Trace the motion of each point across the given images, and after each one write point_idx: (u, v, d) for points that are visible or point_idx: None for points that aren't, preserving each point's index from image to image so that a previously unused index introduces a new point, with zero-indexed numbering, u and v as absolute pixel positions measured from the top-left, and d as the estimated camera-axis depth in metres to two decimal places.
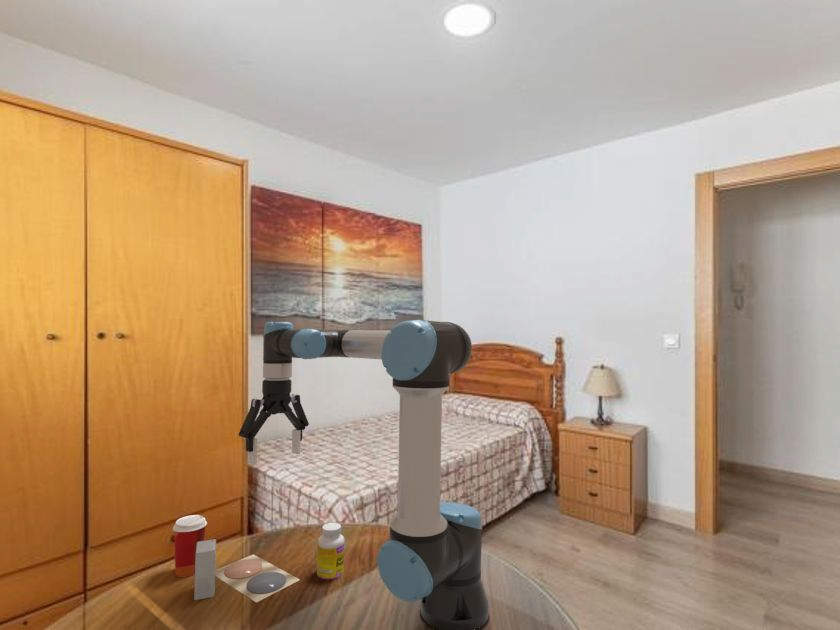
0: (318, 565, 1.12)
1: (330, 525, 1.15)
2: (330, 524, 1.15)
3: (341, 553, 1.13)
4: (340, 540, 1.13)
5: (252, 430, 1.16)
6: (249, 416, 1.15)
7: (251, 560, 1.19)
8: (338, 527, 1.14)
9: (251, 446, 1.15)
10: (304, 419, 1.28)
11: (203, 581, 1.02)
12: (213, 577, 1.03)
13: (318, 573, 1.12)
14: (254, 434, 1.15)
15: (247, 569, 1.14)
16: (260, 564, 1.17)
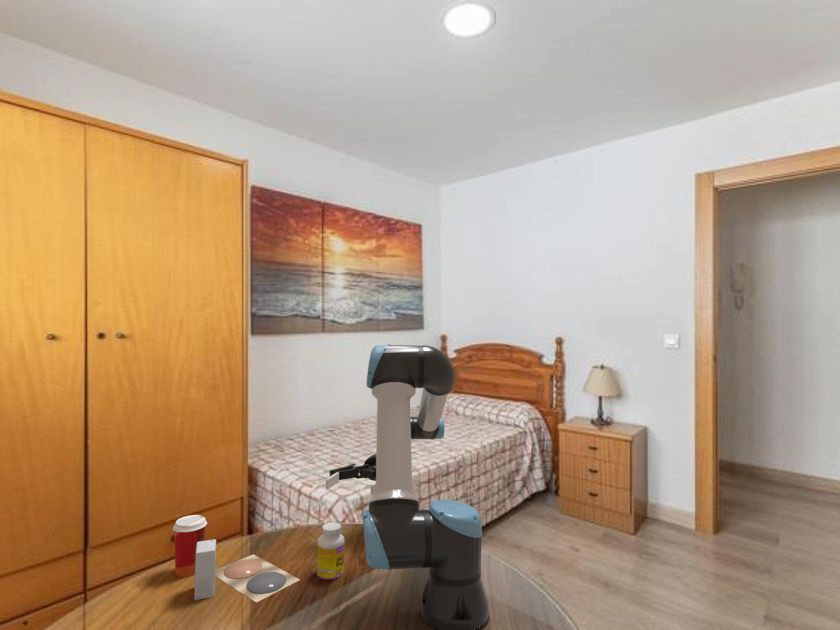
0: (318, 565, 1.12)
1: (330, 525, 1.15)
2: (330, 524, 1.15)
3: (341, 553, 1.13)
4: (340, 540, 1.13)
5: None
6: None
7: (251, 560, 1.19)
8: (338, 527, 1.14)
9: (332, 476, 1.31)
10: None
11: (203, 581, 1.02)
12: (213, 577, 1.03)
13: (318, 573, 1.12)
14: (338, 471, 1.33)
15: (247, 569, 1.14)
16: (260, 564, 1.17)
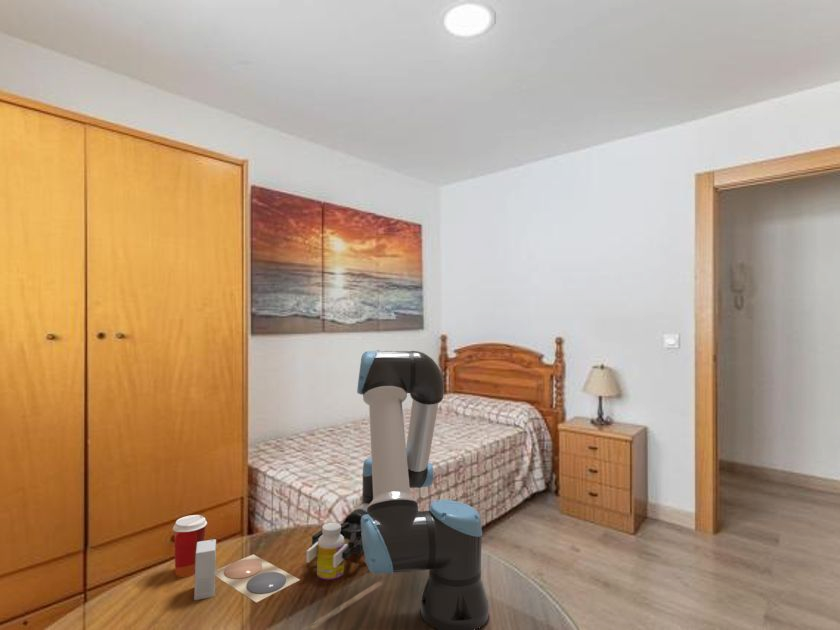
0: (318, 565, 1.12)
1: (330, 525, 1.15)
2: (330, 524, 1.15)
3: None
4: (340, 540, 1.13)
5: None
6: None
7: (251, 560, 1.19)
8: (338, 527, 1.14)
9: None
10: (360, 541, 1.17)
11: (203, 581, 1.02)
12: (213, 577, 1.03)
13: (318, 573, 1.12)
14: None
15: (247, 569, 1.14)
16: (260, 564, 1.17)
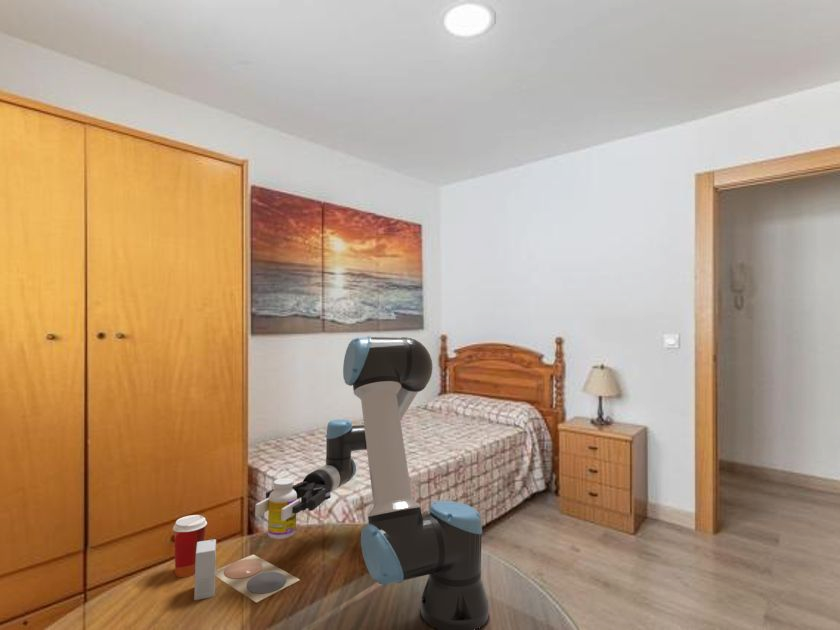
0: (269, 520, 1.10)
1: (282, 480, 1.12)
2: (282, 479, 1.13)
3: None
4: (291, 495, 1.10)
5: None
6: None
7: (251, 560, 1.19)
8: (290, 482, 1.11)
9: None
10: (313, 497, 1.14)
11: (203, 581, 1.02)
12: (213, 577, 1.03)
13: (268, 528, 1.09)
14: None
15: (247, 569, 1.14)
16: (260, 564, 1.17)
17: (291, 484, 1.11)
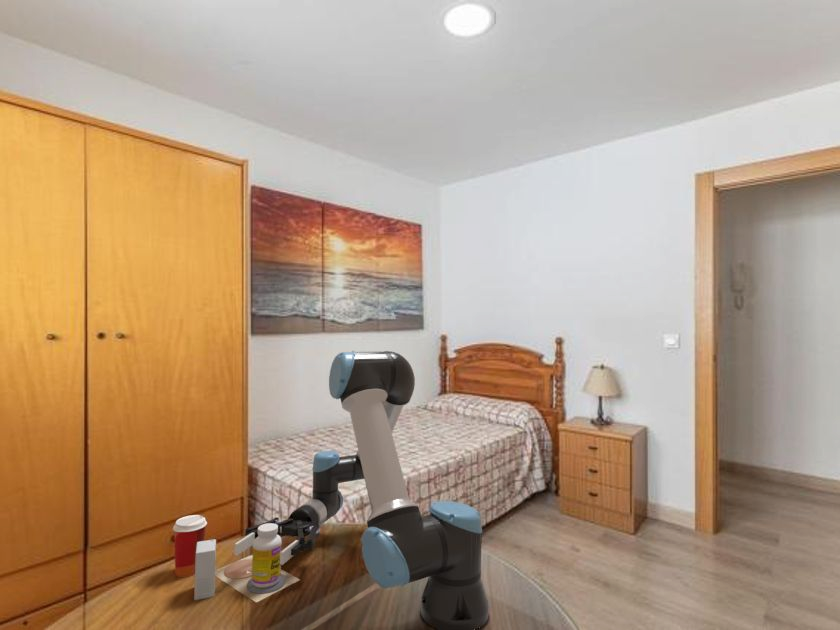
0: (252, 568, 1.07)
1: (267, 526, 1.10)
2: (267, 525, 1.10)
3: (277, 555, 1.07)
4: (276, 541, 1.08)
5: None
6: None
7: (251, 560, 1.19)
8: (274, 528, 1.09)
9: None
10: (310, 537, 1.12)
11: (203, 581, 1.02)
12: (213, 577, 1.03)
13: (252, 576, 1.07)
14: (255, 530, 1.15)
15: (247, 569, 1.14)
16: None
17: (276, 530, 1.08)
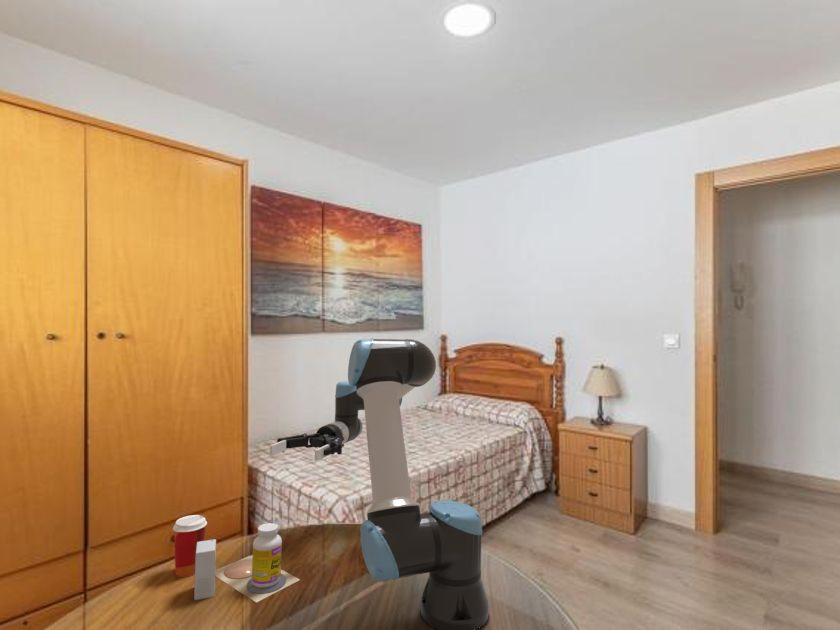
0: (252, 568, 1.07)
1: (267, 526, 1.10)
2: (267, 525, 1.10)
3: (277, 555, 1.07)
4: (276, 541, 1.08)
5: None
6: None
7: (251, 560, 1.19)
8: (274, 528, 1.09)
9: None
10: (339, 443, 1.25)
11: (203, 581, 1.02)
12: (213, 577, 1.03)
13: (252, 576, 1.07)
14: (286, 439, 1.28)
15: (247, 569, 1.14)
16: None
17: (276, 530, 1.08)
